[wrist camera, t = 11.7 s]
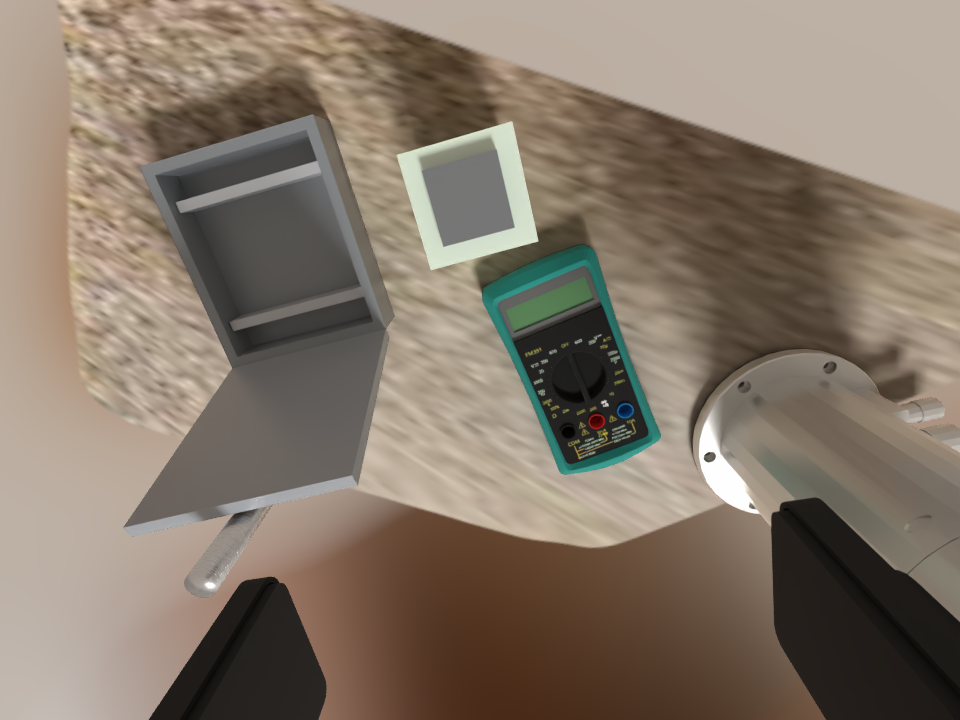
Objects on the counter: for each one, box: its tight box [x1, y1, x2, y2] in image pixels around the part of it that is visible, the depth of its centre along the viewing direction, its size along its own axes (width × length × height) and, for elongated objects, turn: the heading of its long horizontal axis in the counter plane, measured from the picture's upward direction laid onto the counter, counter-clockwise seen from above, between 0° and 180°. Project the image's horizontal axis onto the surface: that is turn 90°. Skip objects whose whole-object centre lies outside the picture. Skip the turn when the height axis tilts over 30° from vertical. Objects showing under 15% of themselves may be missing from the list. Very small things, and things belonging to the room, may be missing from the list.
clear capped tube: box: [184, 505, 273, 598], centre depth 26 cm, size 2×2×17 cm
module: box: [397, 121, 538, 270], centre depth 25 cm, size 5×5×10 cm
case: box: [140, 114, 394, 368], centre depth 29 cm, size 10×12×3 cm
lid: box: [123, 329, 389, 537], centre depth 25 cm, size 10×12×1 cm
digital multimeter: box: [482, 244, 661, 475], centre depth 32 cm, size 7×15×3 cm, turn 24°
